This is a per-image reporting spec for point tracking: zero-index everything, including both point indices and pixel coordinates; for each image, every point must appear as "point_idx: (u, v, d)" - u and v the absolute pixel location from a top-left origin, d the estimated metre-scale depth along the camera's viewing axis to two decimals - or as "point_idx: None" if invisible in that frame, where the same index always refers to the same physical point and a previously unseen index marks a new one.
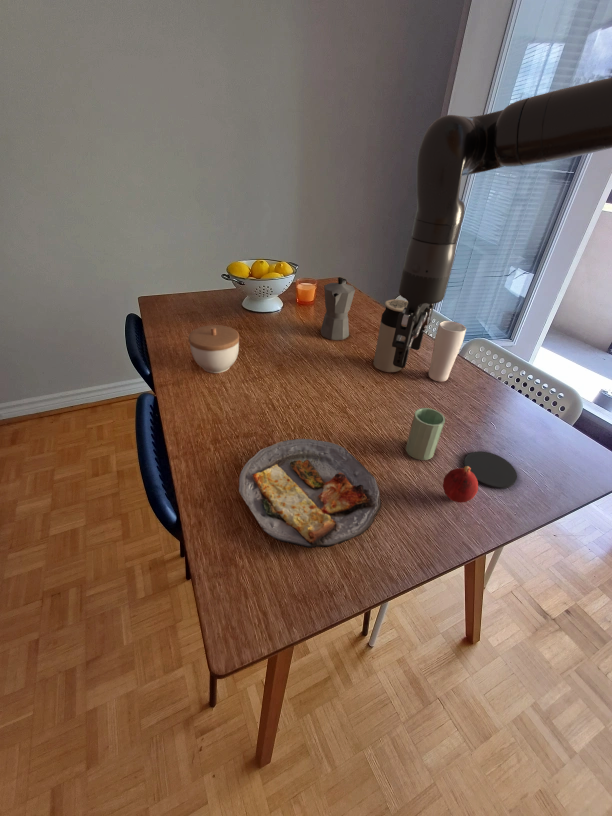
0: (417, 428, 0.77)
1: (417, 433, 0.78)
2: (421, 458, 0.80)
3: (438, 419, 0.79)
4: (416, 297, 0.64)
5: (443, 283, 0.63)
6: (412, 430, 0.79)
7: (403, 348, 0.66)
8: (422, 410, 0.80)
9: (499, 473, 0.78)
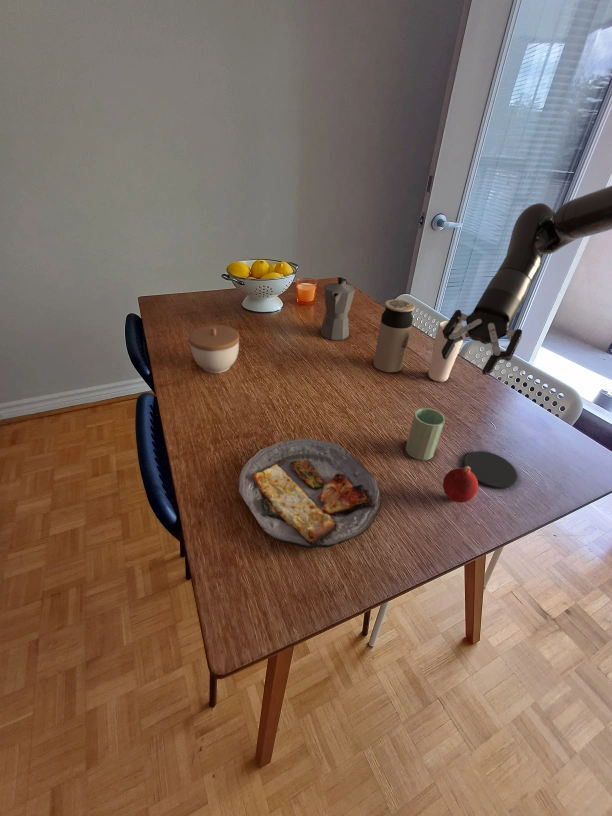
0: (417, 428, 0.77)
1: (417, 433, 0.78)
2: (421, 458, 0.80)
3: (438, 419, 0.79)
4: None
5: (492, 292, 0.79)
6: (412, 430, 0.79)
7: (443, 331, 0.84)
8: (422, 410, 0.80)
9: (499, 473, 0.78)
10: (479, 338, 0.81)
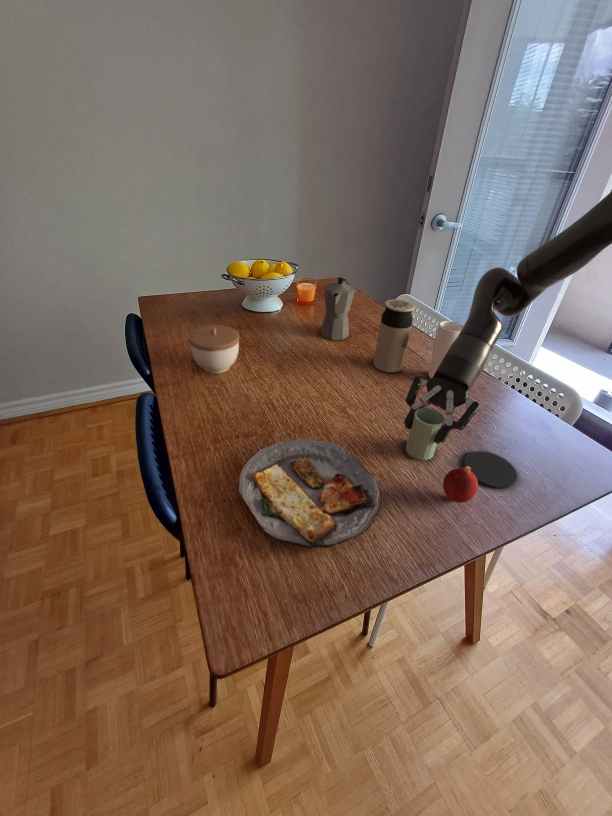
0: (417, 428, 0.77)
1: (417, 433, 0.78)
2: (421, 458, 0.80)
3: (438, 419, 0.79)
4: None
5: (451, 359, 0.77)
6: (412, 430, 0.79)
7: (406, 400, 0.81)
8: (422, 410, 0.80)
9: (499, 473, 0.78)
10: (439, 405, 0.79)
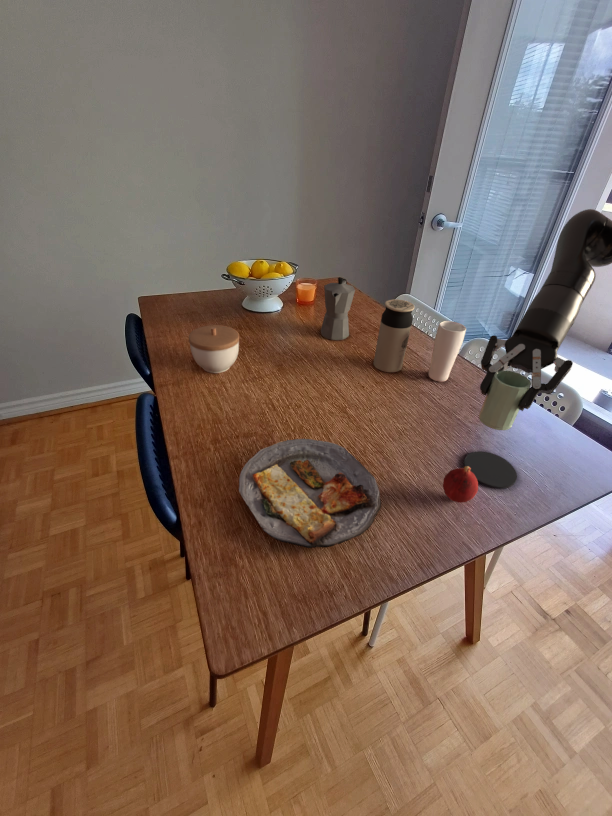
0: (498, 392, 0.68)
1: (498, 398, 0.68)
2: (500, 428, 0.71)
3: (520, 383, 0.70)
4: (516, 329, 0.71)
5: (537, 312, 0.67)
6: (491, 395, 0.69)
7: (481, 362, 0.72)
8: (501, 373, 0.70)
9: (499, 473, 0.78)
10: (522, 366, 0.69)
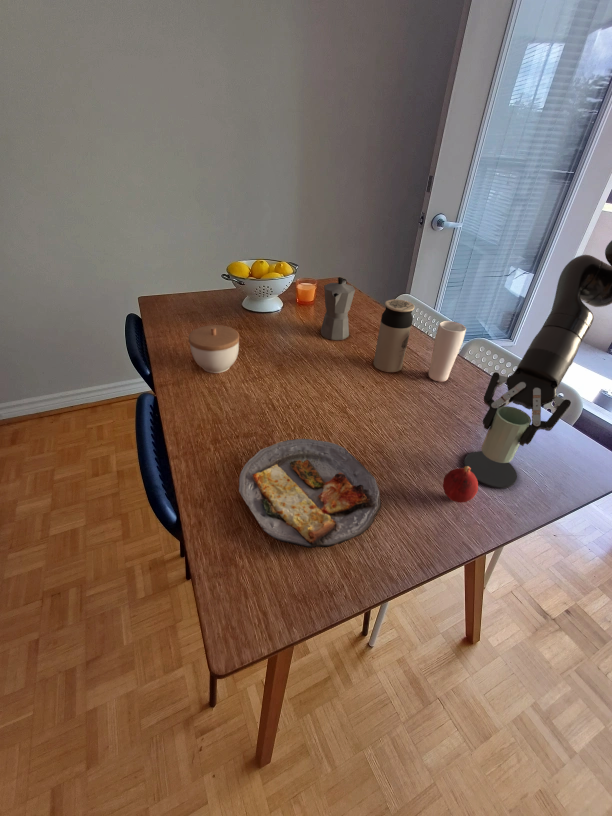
0: (500, 428, 0.71)
1: (500, 434, 0.72)
2: (501, 461, 0.74)
3: (521, 419, 0.73)
4: None
5: (537, 353, 0.71)
6: (493, 430, 0.73)
7: (484, 398, 0.75)
8: (503, 409, 0.74)
9: (499, 473, 0.78)
10: (522, 403, 0.72)
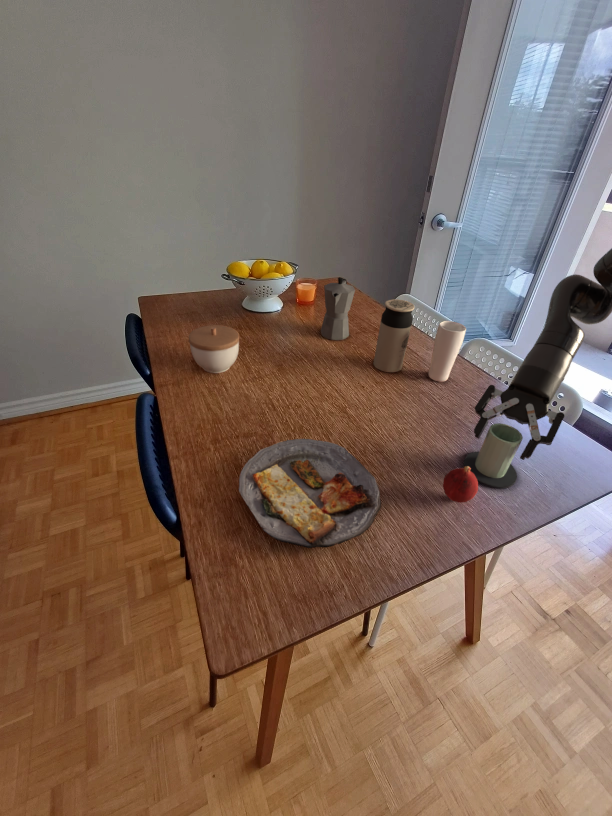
0: (493, 445, 0.74)
1: (492, 450, 0.74)
2: (494, 476, 0.77)
3: (513, 435, 0.76)
4: None
5: (530, 370, 0.73)
6: (486, 447, 0.75)
7: (475, 408, 0.78)
8: (496, 426, 0.76)
9: None
10: (516, 418, 0.74)
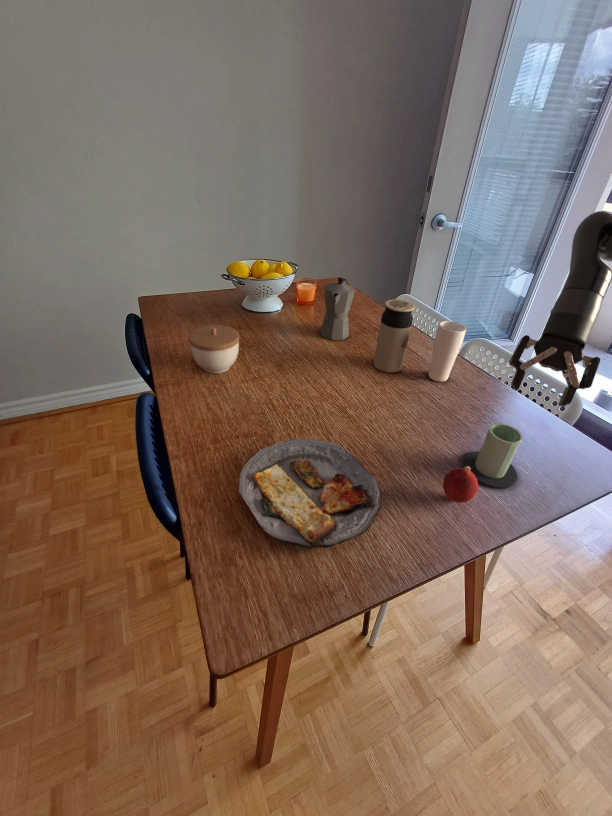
0: (493, 445, 0.74)
1: (492, 450, 0.74)
2: (494, 476, 0.77)
3: (513, 435, 0.76)
4: (544, 330, 0.77)
5: (567, 317, 0.73)
6: (486, 447, 0.75)
7: (511, 360, 0.77)
8: (496, 426, 0.76)
9: None
10: (552, 367, 0.76)
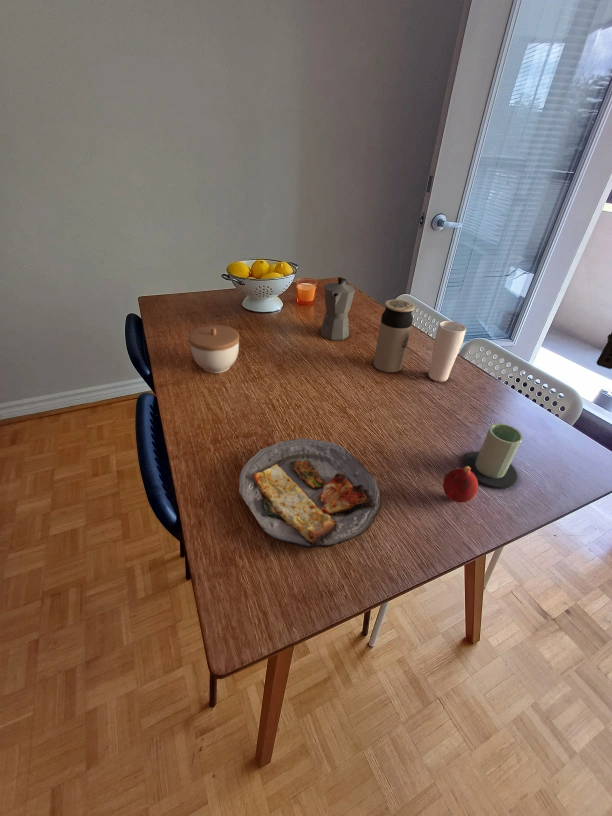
0: (493, 445, 0.74)
1: (492, 450, 0.74)
2: (494, 476, 0.77)
3: (513, 435, 0.76)
4: None
5: None
6: (486, 447, 0.75)
7: None
8: (496, 426, 0.76)
9: None
10: None
